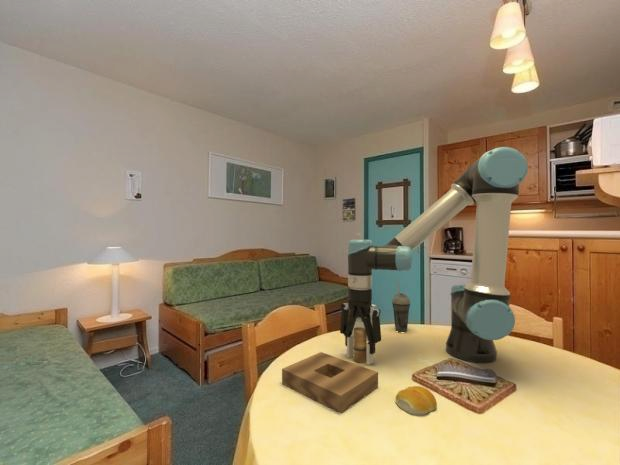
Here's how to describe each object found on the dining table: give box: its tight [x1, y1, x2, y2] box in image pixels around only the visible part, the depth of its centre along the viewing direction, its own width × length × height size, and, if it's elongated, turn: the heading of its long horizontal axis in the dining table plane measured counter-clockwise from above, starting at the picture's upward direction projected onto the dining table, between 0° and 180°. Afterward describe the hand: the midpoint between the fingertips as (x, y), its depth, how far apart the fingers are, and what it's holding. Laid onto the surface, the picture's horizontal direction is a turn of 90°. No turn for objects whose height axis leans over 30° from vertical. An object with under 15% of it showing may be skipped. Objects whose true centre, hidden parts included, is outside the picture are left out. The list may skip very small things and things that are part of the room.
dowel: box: [353, 327, 368, 364], centre depth 97 cm, size 4×4×10 cm
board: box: [281, 351, 379, 414], centre depth 81 cm, size 20×16×4 cm
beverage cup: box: [391, 282, 411, 333], centre depth 126 cm, size 7×7×20 cm
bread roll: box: [395, 385, 438, 416], centre depth 72 cm, size 8×9×4 cm
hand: (359, 359), depth 97 cm, fingers open, 7 cm apart
